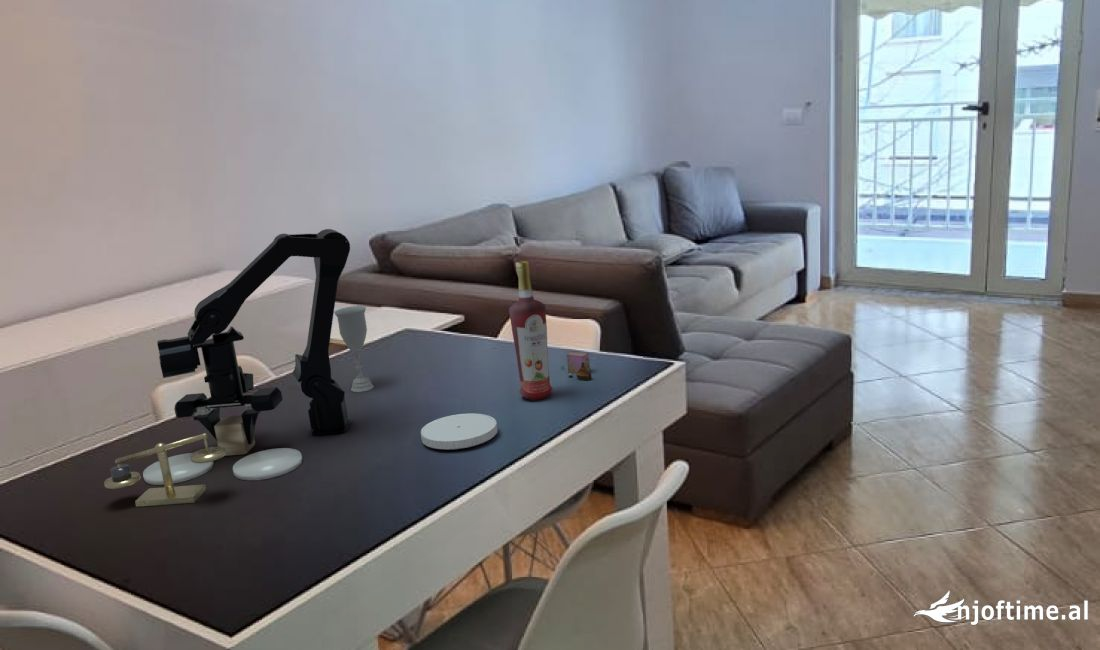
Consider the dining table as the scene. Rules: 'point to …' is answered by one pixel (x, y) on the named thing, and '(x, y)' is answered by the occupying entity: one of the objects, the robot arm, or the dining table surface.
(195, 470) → the pale round disc
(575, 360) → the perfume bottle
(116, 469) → the balance
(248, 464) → the shallow white plate
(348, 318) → the chalice
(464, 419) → the plastic lid
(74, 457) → the dining table surface
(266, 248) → the robot arm
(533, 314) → the liquor
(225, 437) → the block
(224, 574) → the dining table surface
